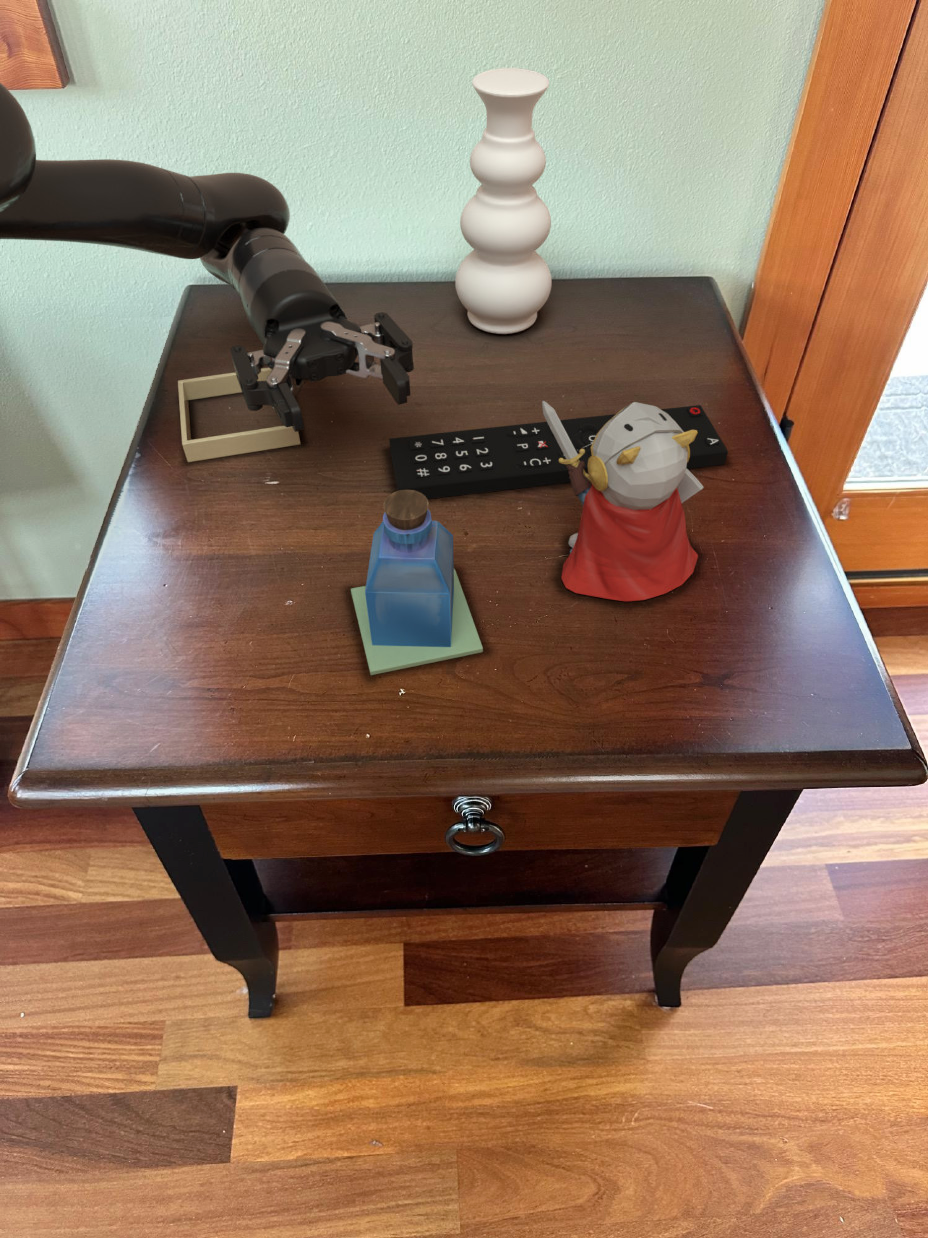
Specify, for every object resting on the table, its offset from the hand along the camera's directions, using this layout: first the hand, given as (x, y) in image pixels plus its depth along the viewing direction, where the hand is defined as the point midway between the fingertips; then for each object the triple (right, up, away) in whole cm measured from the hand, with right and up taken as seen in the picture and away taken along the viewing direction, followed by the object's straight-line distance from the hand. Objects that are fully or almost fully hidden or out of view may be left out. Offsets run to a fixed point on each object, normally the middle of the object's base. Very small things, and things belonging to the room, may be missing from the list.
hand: (351, 407), depth 65 cm
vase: (+13, +19, +34) cm, 41 cm away
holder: (-14, +4, +21) cm, 26 cm away
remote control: (+18, -1, +17) cm, 25 cm away
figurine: (+22, -11, +8) cm, 26 cm away
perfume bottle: (+5, -16, +3) cm, 17 cm away
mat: (+5, -17, +3) cm, 18 cm away
